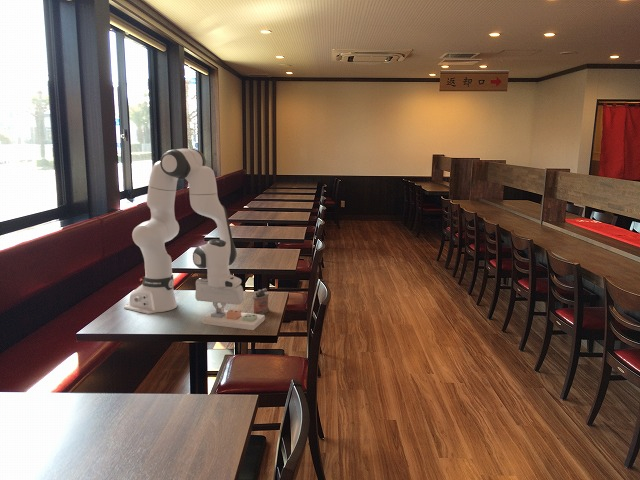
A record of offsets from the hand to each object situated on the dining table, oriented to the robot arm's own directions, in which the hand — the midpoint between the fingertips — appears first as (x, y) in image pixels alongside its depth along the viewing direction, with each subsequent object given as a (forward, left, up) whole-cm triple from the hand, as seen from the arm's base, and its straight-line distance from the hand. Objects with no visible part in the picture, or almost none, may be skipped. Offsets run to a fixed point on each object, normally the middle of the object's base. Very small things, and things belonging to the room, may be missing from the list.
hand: (219, 312), depth 209 cm
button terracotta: (+6, -1, -2) cm, 7 cm away
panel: (+6, -1, -3) cm, 7 cm away
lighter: (+12, +13, -3) cm, 19 cm away
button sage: (+13, 0, -3) cm, 14 cm away
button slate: (-1, -1, -3) cm, 3 cm away
